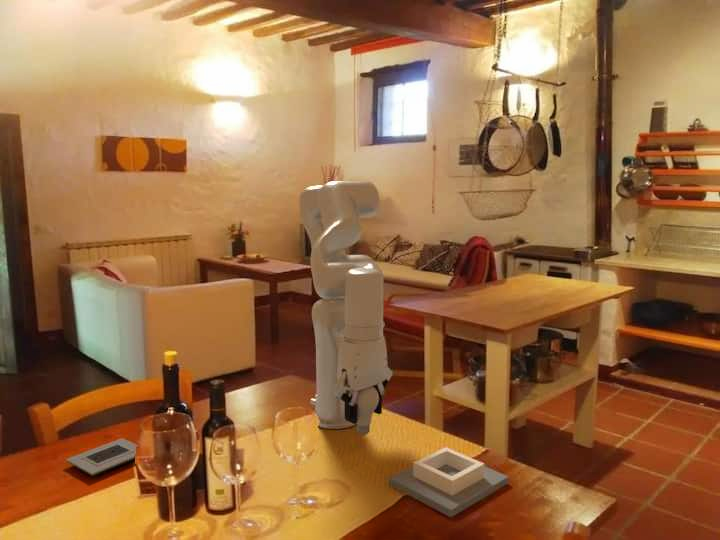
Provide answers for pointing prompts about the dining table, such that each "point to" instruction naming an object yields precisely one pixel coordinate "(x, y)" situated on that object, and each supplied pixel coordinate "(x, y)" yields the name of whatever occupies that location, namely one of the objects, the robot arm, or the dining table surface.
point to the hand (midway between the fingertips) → (363, 415)
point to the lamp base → (448, 481)
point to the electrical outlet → (104, 457)
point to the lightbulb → (366, 408)
